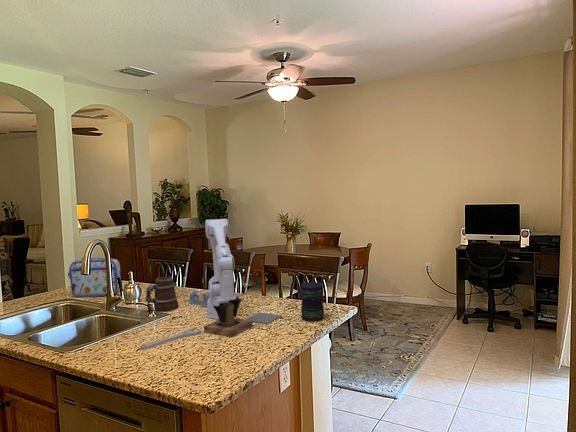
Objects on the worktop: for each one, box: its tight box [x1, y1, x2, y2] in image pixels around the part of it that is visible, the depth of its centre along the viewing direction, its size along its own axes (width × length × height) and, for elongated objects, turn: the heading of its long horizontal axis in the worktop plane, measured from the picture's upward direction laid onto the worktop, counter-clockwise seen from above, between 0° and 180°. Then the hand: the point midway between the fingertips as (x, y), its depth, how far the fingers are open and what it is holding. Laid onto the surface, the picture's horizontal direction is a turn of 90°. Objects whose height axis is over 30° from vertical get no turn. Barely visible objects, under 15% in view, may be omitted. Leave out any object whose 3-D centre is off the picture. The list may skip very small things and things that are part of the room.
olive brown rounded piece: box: [222, 302, 235, 327], centre depth 175 cm, size 6×6×11 cm
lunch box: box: [67, 257, 121, 298], centre depth 243 cm, size 28×10×22 cm, turn 93°
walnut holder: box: [203, 317, 253, 338], centre depth 176 cm, size 14×14×2 cm
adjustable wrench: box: [139, 327, 202, 351], centre depth 166 cm, size 25×6×2 cm, turn 131°
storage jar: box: [300, 281, 325, 323], centre depth 186 cm, size 10×10×15 cm
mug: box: [144, 276, 179, 312], centre depth 209 cm, size 16×12×15 cm
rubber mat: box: [243, 311, 283, 325], centre depth 189 cm, size 12×12×1 cm
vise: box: [183, 289, 210, 309], centre depth 219 cm, size 18×10×7 cm, turn 46°
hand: (228, 319), depth 175 cm, fingers open, 7 cm apart
